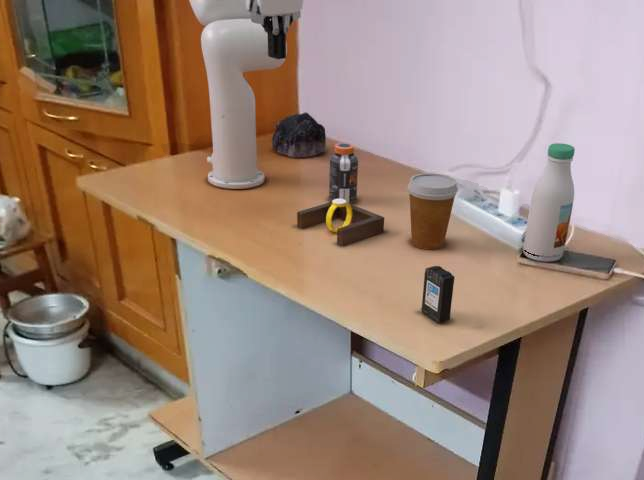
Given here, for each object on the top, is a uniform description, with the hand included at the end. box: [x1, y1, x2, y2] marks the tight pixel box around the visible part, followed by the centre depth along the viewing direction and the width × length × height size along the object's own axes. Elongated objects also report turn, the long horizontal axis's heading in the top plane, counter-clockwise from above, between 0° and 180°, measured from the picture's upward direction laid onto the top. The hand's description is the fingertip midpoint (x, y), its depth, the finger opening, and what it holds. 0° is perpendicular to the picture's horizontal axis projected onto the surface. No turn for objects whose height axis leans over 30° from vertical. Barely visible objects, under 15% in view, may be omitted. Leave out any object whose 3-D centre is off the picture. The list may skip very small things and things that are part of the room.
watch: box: [325, 199, 353, 234], centre depth 166 cm, size 6×3×6 cm, turn 134°
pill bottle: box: [328, 142, 359, 204], centre depth 178 cm, size 6×6×11 cm
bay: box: [296, 201, 385, 247], centre depth 167 cm, size 13×12×3 cm
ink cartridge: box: [420, 265, 455, 324], centre depth 137 cm, size 5×2×8 cm, turn 32°
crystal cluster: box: [271, 111, 327, 159], centre depth 205 cm, size 13×14×10 cm
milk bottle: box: [522, 142, 576, 263], centre depth 156 cm, size 8×8×20 cm
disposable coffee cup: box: [406, 172, 459, 250], centre depth 160 cm, size 10×10×12 cm
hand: (277, 57), depth 155 cm, fingers closed
